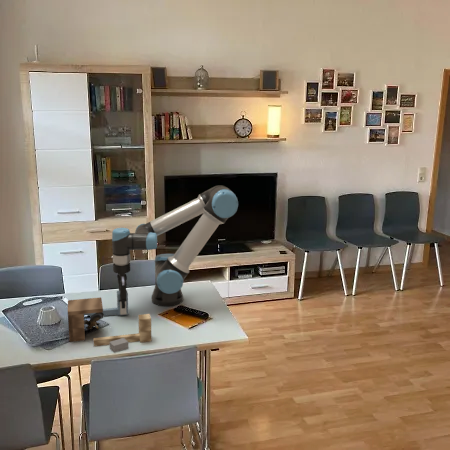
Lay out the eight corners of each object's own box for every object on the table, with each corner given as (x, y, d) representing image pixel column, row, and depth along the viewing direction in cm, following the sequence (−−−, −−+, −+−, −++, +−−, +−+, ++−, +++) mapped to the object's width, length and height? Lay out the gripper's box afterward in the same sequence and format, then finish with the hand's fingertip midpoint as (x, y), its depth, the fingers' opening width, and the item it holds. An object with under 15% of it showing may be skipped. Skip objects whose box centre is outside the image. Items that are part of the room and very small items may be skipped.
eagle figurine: (101, 330, 206) (108, 317, 214) (91, 318, 204) (98, 305, 212) (87, 337, 208) (95, 324, 217) (77, 325, 206) (84, 312, 214)
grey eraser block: (123, 344, 198) (123, 337, 197) (128, 348, 194) (128, 341, 194) (109, 348, 194) (109, 341, 193) (114, 352, 191) (113, 345, 190)
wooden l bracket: (102, 325, 213) (101, 297, 210) (104, 338, 202) (102, 308, 199) (69, 328, 209) (67, 300, 206) (69, 342, 198) (67, 311, 195)
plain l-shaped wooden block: (149, 336, 205) (149, 313, 202) (151, 341, 200) (151, 318, 198) (93, 342, 198) (92, 319, 196) (94, 347, 194) (92, 324, 192)
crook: (127, 310, 228) (126, 290, 225) (130, 321, 216) (129, 300, 214) (76, 315, 222) (75, 294, 219) (76, 327, 210) (75, 305, 208)
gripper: (111, 257, 226) (113, 304, 232) (114, 269, 210) (115, 320, 216) (128, 256, 228) (129, 303, 234) (132, 268, 212) (133, 319, 218)
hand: (122, 311), depth 225 cm, fingers closed on crook, 4 cm apart
